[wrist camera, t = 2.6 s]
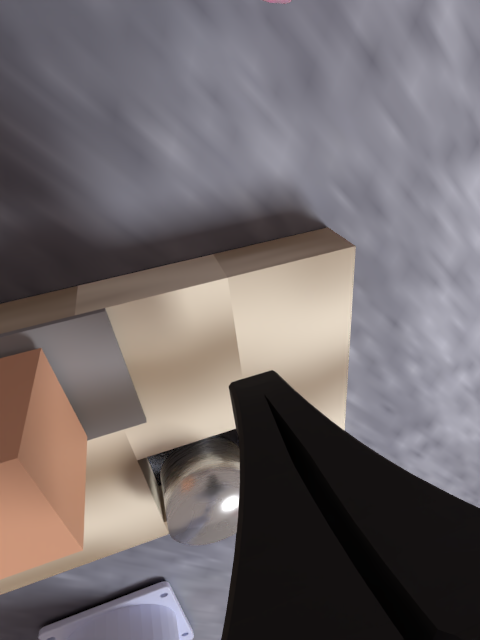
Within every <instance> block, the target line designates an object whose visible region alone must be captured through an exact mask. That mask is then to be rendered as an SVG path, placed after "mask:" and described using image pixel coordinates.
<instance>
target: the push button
mask: <svg viewBox="0 0 480 640" xmlns="http://www.w3.org/2000/svg"><path fill="white" fill-rule="evenodd" d="M160 478H161V484H162V491H163V498H164V505H165V511H166V518H167V525H168V531H169V534H170V536H171V537H172V538H173V539H174V540H175V541H177V542H179V543H182V544H186V545H205V544H210V543H214V542H217V541H220V540H223V539H225V538H228V537H230V536H232V535H234V534H235V533H237V522H238V508H239V488H240V449H239V447H238V446H237V445H236V444H235V443H234V442H232V441H230V440H228V439H224V438H219V437H208V438H205V439H202V440H199V441H196V442H193V443H189V444H186V445H183V446H181V447H179V448H178V449H176V450H175V451H174V452H172V453H171V454H170V455H169V456H168V457H167V459H166V460H165V461H164V463H163V465H162V468H161V471H160Z"/></svg>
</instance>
